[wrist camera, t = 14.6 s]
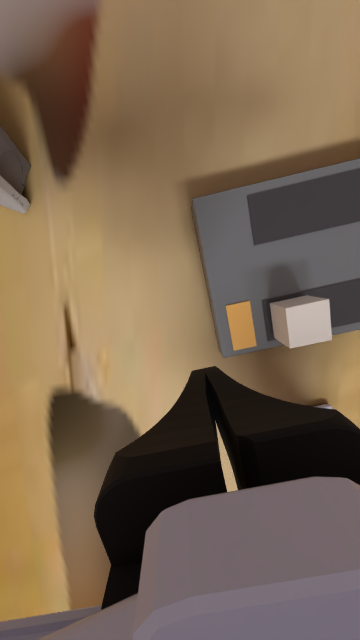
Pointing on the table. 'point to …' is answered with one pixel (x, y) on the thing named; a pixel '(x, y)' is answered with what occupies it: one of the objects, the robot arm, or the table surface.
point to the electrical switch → (12, 175)
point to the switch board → (280, 252)
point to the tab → (301, 321)
